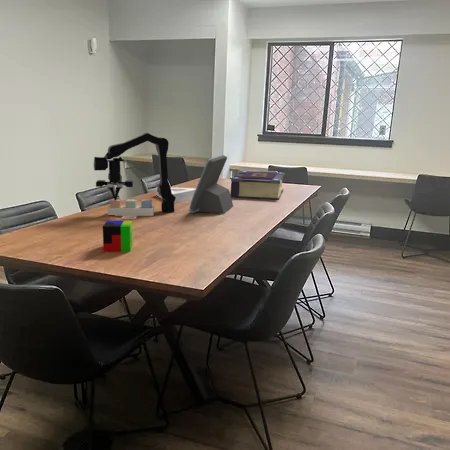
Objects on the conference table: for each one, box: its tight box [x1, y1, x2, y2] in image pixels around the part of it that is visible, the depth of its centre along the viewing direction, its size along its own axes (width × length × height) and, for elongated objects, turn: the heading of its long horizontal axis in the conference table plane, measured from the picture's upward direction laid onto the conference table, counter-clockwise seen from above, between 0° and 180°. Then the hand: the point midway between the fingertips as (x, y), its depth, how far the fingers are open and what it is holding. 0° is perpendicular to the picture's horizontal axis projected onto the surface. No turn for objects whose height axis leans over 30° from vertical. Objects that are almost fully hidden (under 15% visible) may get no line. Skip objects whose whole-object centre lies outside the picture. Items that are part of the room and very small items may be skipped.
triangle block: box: [155, 186, 196, 204], centre depth 298 cm, size 30×26×6 cm
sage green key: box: [125, 198, 138, 208], centre depth 245 cm, size 5×5×5 cm
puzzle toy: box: [102, 220, 134, 253], centre depth 182 cm, size 10×10×10 cm
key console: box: [107, 204, 155, 217], centre depth 246 cm, size 23×7×4 cm, turn 94°
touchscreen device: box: [189, 154, 234, 215], centre depth 263 cm, size 35×20×30 cm, turn 167°
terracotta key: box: [109, 198, 122, 208], centre depth 245 cm, size 5×5×5 cm
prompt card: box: [121, 216, 138, 220], centre depth 238 cm, size 7×6×1 cm
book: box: [230, 170, 286, 201], centre depth 323 cm, size 33×45×14 cm
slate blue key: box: [140, 199, 153, 208], centre depth 246 cm, size 5×5×5 cm
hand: (115, 200), depth 244 cm, fingers closed
